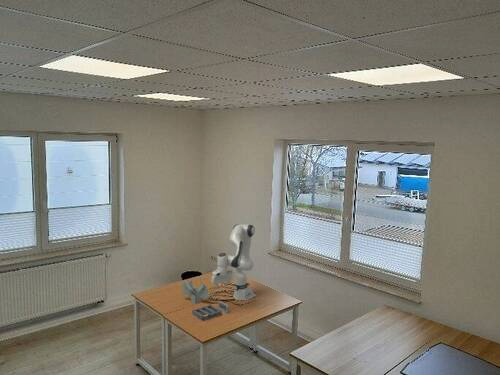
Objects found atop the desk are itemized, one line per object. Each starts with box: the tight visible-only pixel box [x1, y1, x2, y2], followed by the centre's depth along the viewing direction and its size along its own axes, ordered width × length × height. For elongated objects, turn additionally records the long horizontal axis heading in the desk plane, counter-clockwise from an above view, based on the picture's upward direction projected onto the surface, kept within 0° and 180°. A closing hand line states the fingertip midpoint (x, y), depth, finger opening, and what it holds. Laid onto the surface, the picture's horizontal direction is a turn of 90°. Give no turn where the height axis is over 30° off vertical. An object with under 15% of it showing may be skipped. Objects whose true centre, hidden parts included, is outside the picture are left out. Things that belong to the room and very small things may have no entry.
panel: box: [217, 300, 229, 314], centre depth 344 cm, size 2×12×7 cm, turn 39°
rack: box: [192, 304, 222, 322], centre depth 337 cm, size 19×17×4 cm
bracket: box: [181, 280, 209, 305], centre depth 362 cm, size 28×7×20 cm, turn 67°
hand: (222, 286), depth 343 cm, fingers open, 8 cm apart
